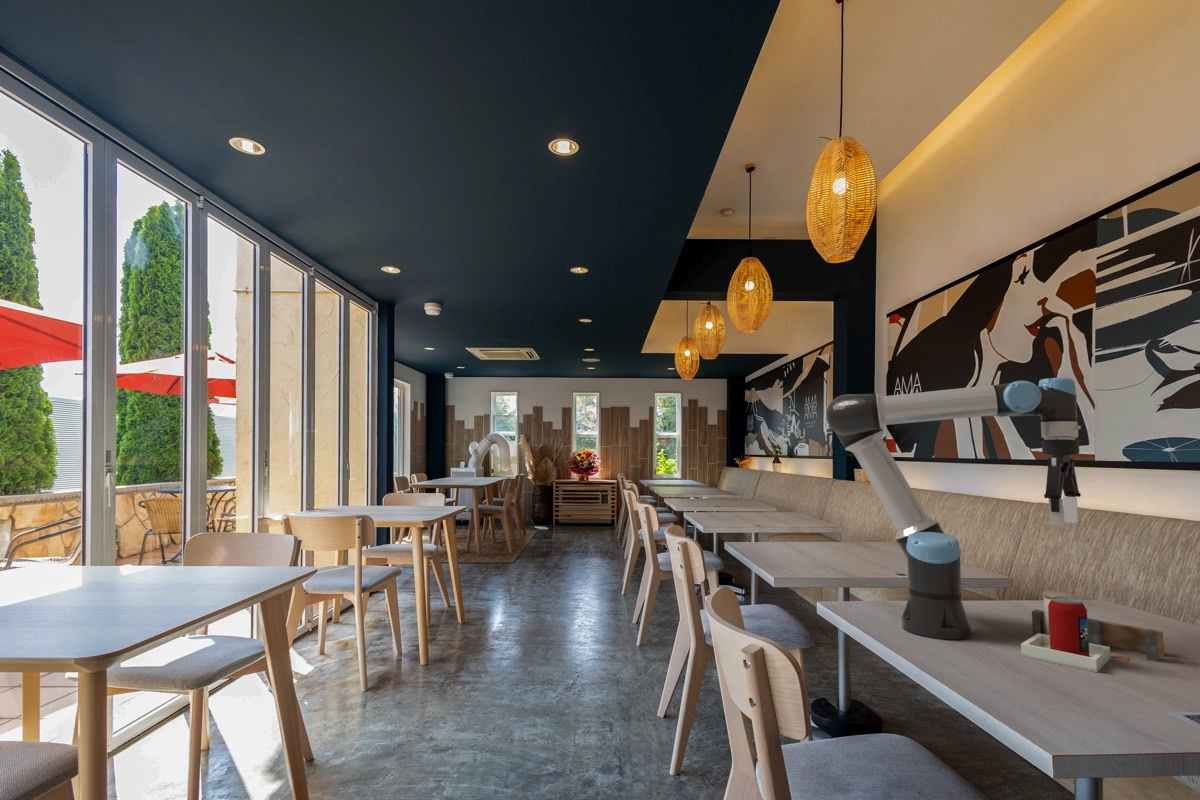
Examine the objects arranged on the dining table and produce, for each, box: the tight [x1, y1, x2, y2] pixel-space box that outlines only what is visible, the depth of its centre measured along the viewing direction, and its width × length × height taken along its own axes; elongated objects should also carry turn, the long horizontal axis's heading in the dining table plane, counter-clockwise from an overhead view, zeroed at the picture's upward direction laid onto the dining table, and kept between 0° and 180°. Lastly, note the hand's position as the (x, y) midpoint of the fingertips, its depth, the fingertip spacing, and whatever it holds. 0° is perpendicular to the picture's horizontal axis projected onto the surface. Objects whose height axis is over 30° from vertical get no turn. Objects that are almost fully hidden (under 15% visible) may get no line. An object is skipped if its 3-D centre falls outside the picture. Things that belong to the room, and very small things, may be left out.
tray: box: [1020, 633, 1112, 673], centre depth 133 cm, size 13×13×2 cm
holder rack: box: [1031, 609, 1165, 662], centre depth 140 cm, size 23×12×6 cm, turn 41°
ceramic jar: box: [1042, 590, 1080, 635], centre depth 145 cm, size 7×7×11 cm
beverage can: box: [1048, 597, 1089, 657], centre depth 132 cm, size 7×7×12 cm
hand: (1064, 524), depth 153 cm, fingers open, 13 cm apart
